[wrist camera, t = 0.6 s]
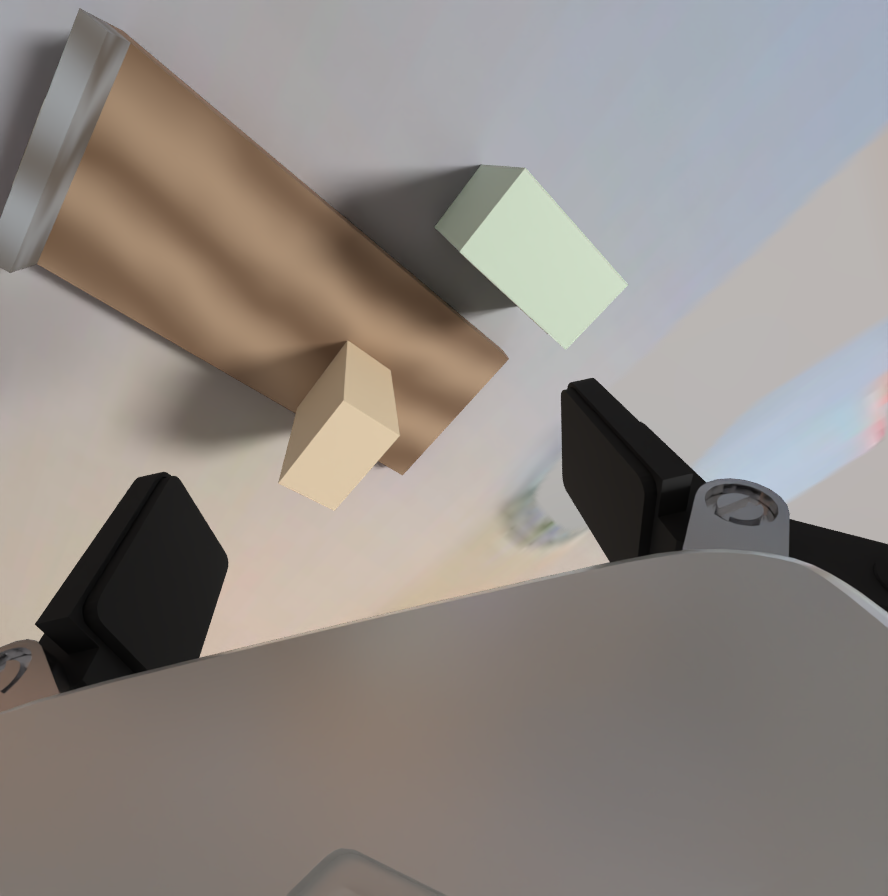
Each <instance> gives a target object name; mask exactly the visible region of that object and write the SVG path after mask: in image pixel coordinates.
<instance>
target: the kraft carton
mask: <svg viewBox="0 0 888 896" xmlns="http://www.w3.org/2000/svg"><path fill="white" fill-rule="evenodd" d="M399 436H400V433H399V426H398V418H397V411H396V404H395V397H394V390H393V383H392V376H391V370H389V369H388V368H387V367H385V366H384V365H382V364H381V363H379V362H378V361H377V360H375V359H374V358H372V357H371V356H369V355H368V354H367V353H365V352H364V351H362V350H361V349H359V348H358V347H357V346H355V345H354V344H352V343H351V342H349V341H348V340H347V342H346V343H345V344H344V346H343V347H342V348H341V350H340V351H339V352H338V354H337V355H336V357H335V358H334V359H333V361H332V362H331V363H330V365H329V366H328V367H327V369H326V370H325V371H324V373H323V374H322V375H321V377H320V378H319V379H318V381H317V382H316V383H315V385H314V386H313V387H312V389H311V390H310V391H309V393H308V394H307V395H306V397H305V398H304V399H303V401H302V402H301V403H300V405H299V406H298V407H297V411H296V415H295V419H294V423H293V427H292V431H291V435H290V439H289V443H288V447H287V451H286V455H285V459H284V462H283V466H282V470H281V474H280V478H279V482H278V483H279V484H281V485H283V486H285V487H287V488H289V489H291V490H293V491H295V492H297V493H299V494H301V495H303V496H305V497H307V498H309V499H311V500H313V501H315V502H317V503H319V504H321V505H324V506H326V507H328V508H330V509H332V510H334V511H335V509H336V508H337V507H338V506H339V505H340V504H341V503H342V501H343V500H344V499H345V498H346V497H347V496H348V495H349V493H350V492H351V491H352V490H353V489H354V488H355V487H356V485H357V484H358V483H359V482H360V481H361V480H362V479H363V477H364V476H365V475H366V474H367V473H368V472H369V471H370V469H371V468H372V467H373V466H374V465H375V464H376V462H377V461H378V460H379V459H380V458H381V457H382V456H383V454H384V453H385V452H386V451H387V450H388V449H389V448H390V446H391V445H392V444H393V443H394V442H395V441H396V440H397V438H398V437H399Z"/></svg>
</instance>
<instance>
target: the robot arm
mask: <svg viewBox="0 0 888 896" xmlns="http://www.w3.org/2000/svg"><path fill="white" fill-rule="evenodd" d="M561 424H562V474H563V475H562V476H563V483H564V486H565V489H566V491H567V493H568V494H569V496H570V497H571V499H572V501H573V503H574V504H575V506H576V507H577V509H578V511H579V512H580V514H581V515H582V517H583V519H584V521H585V522H586V524H587V525H588V527H589V529H590V530H591V532H592V534H593V535H594V537H595V539H596V540H597V542H598V543H599V545H600V547H601V548H602V550H603V552H604V553H605V555H606V557H607V558H608V560H609V561H610V563H605V564H599V565H595V566H590V567H586V568H582V569H577V570H573V571H569V572H564V573H559V574H555V575H550V576H546V577H541V578H537V579H532V580H528V581H524V582H519V583H515V584H511V585H506V586H502V587H498V588H493V589H489V590H485V591H480V592H476V593H472V594H467V595H463V596H459V597H454V598H450V599H446V600H441V601H437V602H432V603H428V604H424V605H420V606H415V607H411V608H407V609H403V610H398V611H394V612H390V613H386V614H381V615H377V616H373V617H369V618H364V619H360V620H356V621H352V622H347V623H343V624H339V625H335V626H330V627H326V628H322V629H318V630H314V631H309V632H305V633H301V634H297V635H292V636H288V637H284V638H280V639H276V640H272V641H267V642H263V643H259V644H255V645H251V646H247V647H243V648H238V649H234V650H230V651H226V652H222V653H218V654H214V655H209V656H205V657H201V658H199V657H200V653H201V650H202V647H203V644H204V641H205V638H206V635H207V632H208V629H209V625H210V622H211V619H212V616H213V613H214V610H215V607H216V604H217V601H218V597H219V594H220V591H221V588H222V585H223V582H224V579H225V576H226V573H227V569H228V558H227V555H226V553H225V551H224V549H223V548H222V546H221V545H220V543H219V541H218V540H217V538H216V537H215V535H214V533H213V532H212V530H211V529H210V527H209V525H208V524H207V522H206V521H205V519H204V517H203V516H202V514H201V513H200V511H199V509H198V508H197V506H196V505H195V503H194V501H193V500H192V498H191V497H190V495H189V493H188V492H187V490H186V488H185V487H184V485H183V484H182V482H181V481H180V479H179V478H178V477H176V476H171V475H170V474H168V473H166V472H161V473H156V474H152V475H147V476H143V477H139V478H137V479H136V480H135V481H134V482H133V484H132V485H131V487H130V488H129V489H128V491H127V492H126V494H125V495H124V497H123V498H122V500H121V501H120V502H119V504H118V505H117V507H116V508H115V510H114V511H113V512H112V514H111V515H110V517H109V518H108V520H107V521H106V523H105V524H104V525H103V527H102V528H101V530H100V531H99V533H98V534H97V536H96V537H95V538H94V540H93V541H92V543H91V544H90V546H89V547H88V549H87V550H86V551H85V553H84V554H83V556H82V557H81V559H80V560H79V561H78V563H77V564H76V566H75V567H74V569H73V570H72V572H71V573H70V574H69V576H68V577H67V579H66V580H65V582H64V583H63V585H62V586H61V587H60V589H59V590H58V592H57V593H56V595H55V596H54V598H53V599H52V600H51V602H50V603H49V605H48V606H47V608H46V609H45V611H44V612H43V613H42V615H41V616H40V618H39V619H38V621H37V622H36V623H35V625H36V626H37V627H38V628H39V629H40V630H42V631H43V632H44V635H43V636H42V638H41V639H40V641H39V642H37V641H35V640H29V639H26V640H20V641H15V642H13V643H10V644H7V645H5V646H2V647H0V896H888V544H885V543H881V542H877V541H873V540H869V539H865V538H862V537H858V536H854V535H850V534H846V533H842V532H838V531H834V530H830V529H826V528H822V527H818V526H815V525H811V524H807V523H803V522H799V521H795V520H791V519H789V515H790V514H789V510H788V506H787V504H786V503H785V502H784V500H783V499H782V498H781V497H780V496H779V495H777V494H776V493H775V492H773V491H772V490H770V489H768V488H766V487H764V486H762V485H760V484H757V483H754V482H750V481H746V480H740V479H731V478H729V479H717V480H713V481H710V482H707V483H706V482H705V481H704V480H703V479H702V478H701V477H700V476H699V475H698V474H697V473H696V472H695V471H694V470H692V469H691V468H690V467H689V466H688V465H687V464H686V463H685V462H684V461H683V460H682V459H681V458H680V457H679V456H678V455H676V453H675V452H673V451H672V450H671V449H670V448H669V447H668V446H667V445H666V444H665V443H664V442H663V441H662V440H661V439H660V438H659V437H658V436H657V435H656V434H654V432H652V431H651V430H650V429H649V428H648V427H647V426H646V425H645V424H643V423H642V422H639V421H638V420H637V419H636V418H635V417H634V416H633V415H632V414H631V413H630V412H629V411H628V410H627V409H626V408H625V407H624V406H623V405H622V404H621V403H620V402H619V401H617V400H616V399H615V398H614V397H613V396H612V395H611V394H610V393H609V392H608V391H607V390H606V389H605V388H604V387H603V386H602V385H601V384H600V383H599V382H598V381H597V380H596V379H594V378H589V379H585V380H580V381H576V382H571V383H569V384H568V388H567V389H566V390H563V391H562V393H561Z"/></svg>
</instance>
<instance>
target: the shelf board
mask: <svg viewBox="0 0 888 896" xmlns="http://www.w3.org/2000/svg"><path fill="white" fill-rule="evenodd" d="M35 264H38V265H40V266H41V267H43V268H45V269H46V270H48V271H50V272H52V273H53V274H55V275H57V276H59V277H60V278H62V279H64V280H65V281H67V282H69V283H71V284H72V285H74V286H76V287H78V288H79V289H81V290H83V291H85V292H86V293H88V294H90V295H91V296H93V297H95V298H97V299H98V300H100V301H102V302H104V303H105V304H107V305H109V306H110V307H112V308H114V309H116V310H117V311H119V312H121V313H123V314H124V315H126V316H128V317H130V318H131V319H133V320H135V321H136V322H138V323H140V324H142V325H143V326H145V327H147V328H149V329H150V330H152V331H154V332H155V333H157V334H159V335H161V336H162V337H164V338H166V339H168V340H169V341H171V342H173V343H175V344H176V345H178V346H180V347H181V348H183V349H185V350H187V351H188V352H190V353H192V354H194V355H195V356H197V357H199V358H200V359H202V360H204V361H206V362H207V363H209V364H211V365H213V366H214V367H216V368H218V369H219V370H221V371H223V372H225V373H226V374H228V375H230V376H232V377H233V378H235V379H237V380H239V381H240V382H242V383H244V384H245V385H247V386H249V387H251V388H252V389H254V390H256V391H258V392H259V393H261V394H263V395H264V396H266V397H268V398H270V399H271V400H273V401H275V402H277V403H278V404H280V405H282V406H284V407H285V408H287V409H289V410H290V411H292V412H294V413H296V411H297V407H298V406H299V405H300V403H301V402H302V401H303V399H304V398H305V397H306V395H307V394H308V393H309V391H310V390H311V389H312V387H313V386H314V385H315V383H316V382H317V381H318V379H319V378H320V377H321V375H322V374H323V373H324V371H325V370H326V369H327V367H328V366H329V365H330V363H331V362H332V361H333V359H334V358H335V357H336V355H337V354H338V352H339V351H340V350H341V348H342V347H343V346H344V344H345V343H346V342H347V340H348V341H349V342H351V343H352V344H354V345H355V346H357V347H358V348H359V349H361V350H362V351H364V352H365V353H367V354H368V355H369V356H371V357H372V358H374V359H375V360H377V361H378V362H379V363H381V364H382V365H384V366H385V367H387V368H388V369H389V370H391V376H392V383H393V390H394V397H395V404H396V411H397V418H398V426H399V433H400V436H399V437H398V438H397V440H396V441H395V442H394V443H393V444H392V445H391V446H390V448H389V449H388V450H387V451H386V452H385V453H384V454H383V456H382V457H381V458H380V459H379V460H378V461H379V462H380V463H382V464H384V465H386V466H387V467H389V468H391V469H393V470H394V471H396V472H398V473H399V474H401V475H403V474H404V473H405V472H406V471H407V470H408V469H409V468H410V467H411V466H412V465H413V463H414V462H415V461H416V460H417V459H418V458H419V457H420V456H421V455H422V454H423V452H424V451H425V450H426V449H427V448H428V447H429V446H430V445H431V444H432V443H433V441H434V440H435V439H436V438H437V437H438V436H439V435H440V434H441V433H442V432H443V431H444V429H445V428H446V427H447V426H448V425H449V424H450V423H451V422H452V421H453V420H454V418H455V417H456V416H457V415H458V414H459V413H460V412H461V411H462V410H463V409H464V408H465V406H466V405H467V404H468V403H469V402H470V401H471V400H472V399H473V398H474V397H475V395H476V394H477V393H478V392H479V391H480V390H481V389H482V388H483V387H484V386H485V385H486V383H487V382H488V381H489V380H490V379H491V378H492V377H493V376H494V375H495V374H496V372H497V371H498V370H499V369H500V368H501V367H502V366H503V365H504V364H505V363H506V361H507V360H508V359H509V358H508V357H507V355H506V354H505V353H504V351H503V350H502V349H501V348H500V347H498V346H497V345H496V344H495V343H494V342H492V341H491V340H490V339H489V338H488V337H486V336H485V335H484V334H483V333H482V332H480V331H479V330H478V329H477V328H476V327H475V326H473V325H472V324H471V323H470V322H469V321H467V320H466V319H465V318H464V317H463V316H461V315H460V314H459V313H458V312H457V311H455V310H454V309H453V308H452V307H451V306H450V305H448V304H447V303H446V302H445V301H444V300H442V299H441V298H440V297H439V296H438V295H436V294H435V293H434V292H433V291H432V290H430V289H429V288H428V287H427V286H426V285H425V284H423V283H422V282H421V281H420V280H419V279H417V278H416V277H415V276H414V275H413V274H411V273H410V272H409V271H408V270H407V269H406V268H404V267H403V266H402V265H401V264H400V263H398V262H397V261H396V260H395V259H394V258H392V257H391V256H390V255H389V254H388V253H386V252H385V251H384V250H383V249H382V248H381V247H379V246H378V245H377V244H376V243H375V242H373V241H372V240H371V239H370V238H369V237H367V236H366V235H365V234H364V233H363V232H361V231H360V230H359V229H358V228H357V227H356V226H354V225H353V224H352V223H351V222H350V221H348V220H347V219H346V218H345V217H344V216H342V215H341V214H340V213H339V212H338V211H336V210H335V209H334V208H333V207H332V206H331V205H329V204H328V203H327V202H326V201H325V200H323V199H322V198H321V197H320V196H319V195H317V194H316V193H315V192H314V191H313V190H312V189H310V188H309V187H308V186H307V185H306V184H304V183H303V182H302V181H301V180H300V179H298V178H297V177H296V176H295V175H294V174H292V173H291V172H290V171H289V170H288V169H287V168H285V167H284V166H283V165H282V164H281V163H279V162H278V161H277V160H276V159H275V158H273V157H272V156H271V155H270V154H269V153H267V152H266V151H265V150H264V149H263V148H262V147H260V146H259V145H258V144H257V143H256V142H254V141H253V140H252V139H251V138H250V137H248V136H247V135H246V134H245V133H244V132H242V131H241V130H240V129H239V128H238V127H237V126H235V125H234V124H233V123H232V122H231V121H229V120H228V119H227V118H226V117H225V116H223V115H222V114H221V113H220V112H219V111H218V110H216V109H215V108H214V107H213V106H212V105H210V104H209V103H208V102H207V101H206V100H204V99H203V98H202V97H201V96H200V95H198V94H197V93H196V92H195V91H194V90H193V89H191V88H190V87H189V86H188V85H187V84H185V83H184V82H183V81H182V80H181V79H179V78H178V77H177V76H176V75H175V74H173V73H172V72H171V71H170V70H169V69H168V68H166V67H165V66H164V65H163V64H162V63H160V62H159V61H158V60H157V59H156V58H154V57H153V56H152V55H151V54H150V53H149V52H147V51H146V50H145V49H144V48H143V47H141V46H140V45H139V44H138V43H137V42H135V41H134V40H133V39H132V38H131V37H129V36H128V35H127V34H126V33H125V32H124V31H122V30H120V29H118V28H116V27H114V26H113V25H111V24H109V23H107V22H105V21H103V20H101V19H99V18H97V17H95V16H93V15H92V14H90V13H88V12H86V11H84V10H82V9H80V8H79V11H78V14H77V16H76V19H75V22H74V24H73V27H72V30H71V32H70V35H69V38H68V40H67V43H66V46H65V48H64V51H63V54H62V56H61V59H60V61H59V64H58V67H57V69H56V72H55V75H54V77H53V80H52V83H51V85H50V88H49V91H48V93H47V96H46V98H45V99H44V101H43V104H42V107H41V109H40V112H39V115H38V117H37V120H36V123H35V125H34V128H33V131H32V133H31V136H30V139H29V141H28V144H27V147H26V149H25V152H24V155H23V157H22V160H21V163H20V165H19V168H18V171H17V173H16V176H15V179H14V181H13V184H12V189H11V191H10V194H9V197H8V199H7V202H6V205H5V207H4V210H3V213H2V215H1V218H0V268H2V269H4V270H6V271H8V272H9V273H12V272H15V271H17V270H20V269H23V268H26V267H29V266H32V265H35Z"/></svg>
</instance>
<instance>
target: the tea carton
mask: <svg viewBox="0 0 888 896" xmlns="http://www.w3.org/2000/svg"><path fill="white" fill-rule="evenodd" d="M435 228H436V229H437V230H438V231H439V232H440V233H441V234H442V235H443V236H444V237H445V238H446V239H447V240H448V241H449V242H450V243H451V244H452V245H453V246H454V247H455V248H456V249H457V250H458V251H459V252H460V253H461V254H462V255H463V256H464V257H465V258H466V259H467V260H468V261H469V262H470V263H471V264H472V265H473V266H474V267H476V268H477V269H478V270H479V271H480V272H481V273H482V274H483V275H484V276H485V277H486V278H487V279H489V280H490V281H491V282H492V283H493V284H494V285H495V286H496V287H497V288H498V289H499V290H500V291H502V292H503V293H504V294H505V295H506V296H507V297H508V298H509V299H510V300H511V301H512V302H513V303H514V304H516V305H517V306H518V307H519V308H520V309H521V310H522V311H523V312H524V313H525V314H526V315H527V316H529V317H530V318H531V319H532V320H533V321H534V322H535V323H536V324H537V325H538V326H539V327H540V328H542V329H543V330H544V331H545V332H546V333H547V334H549V335H550V336H551V337H552V338H553V339H555V340H556V341H557V342H558V343H559V344H560V345H561V346H562V347H563V348H564V349H565V350H566V349H567V348H568V347H569V346H570V345H571V344H572V343H573V342H574V341H575V340H576V339H577V338H578V337H579V336H580V335H581V333H582V332H583V331H584V330H585V329H586V328H587V327H588V326H589V325H590V324H591V323H592V322H593V321H594V320H595V319H596V318H597V317H598V316H599V315H600V314H601V313H602V312H603V311H604V309H605V308H606V307H607V306H608V305H609V304H610V303H611V302H612V301H613V300H614V299H615V298H616V297H617V296H618V295H619V294H620V293H621V292H622V291H623V290H624V289H625V288H626V287H627V286H628V284H627V283H626V282H625V281H624V280H623V278H622V277H621V276H620V275H619V274H618V273H617V272H616V270H615V269H614V268H613V267H612V266H611V265H610V264H609V263H608V261H607V260H606V259H605V258H604V257H603V256H602V255H601V253H600V252H599V251H598V250H597V249H596V248H595V247H594V245H593V244H592V243H591V242H590V241H589V240H588V239H587V237H586V236H585V235H584V234H583V233H582V232H581V231H580V230H579V228H578V227H577V226H576V225H575V224H574V223H573V222H572V220H571V219H570V218H569V217H568V216H567V215H566V214H565V212H564V211H563V210H562V209H561V208H560V207H559V206H558V204H557V203H556V202H555V201H554V200H553V199H552V198H551V196H550V195H549V194H548V193H547V192H546V191H545V190H544V189H543V187H542V186H541V185H540V184H539V183H538V182H537V181H536V179H535V178H534V177H533V176H532V175H531V174H530V173H529V171H528V170H527V169H526V168H521V167H507V166H494V165H480V167H479V168H478V169H477V171H476V172H475V173H474V175H473V176H472V177H471V179H470V180H469V182H468V183H467V184H466V186H465V187H464V188H463V190H462V191H461V192H460V194H459V195H458V196H457V198H456V199H455V200H454V202H453V203H452V204H451V206H450V207H449V208H448V210H447V211H446V212H445V214H444V215H443V216H442V218H441V219H440V220H439V222H438V223H437V224H436V226H435Z"/></svg>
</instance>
